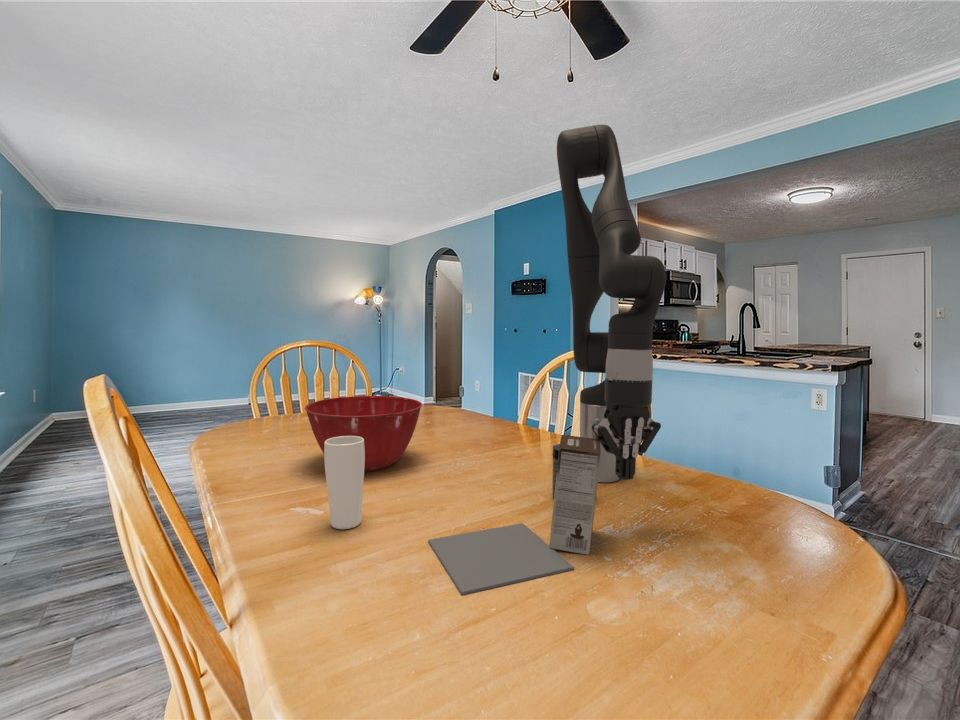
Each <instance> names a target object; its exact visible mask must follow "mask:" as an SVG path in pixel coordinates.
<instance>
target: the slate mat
mask: <svg viewBox="0 0 960 720" xmlns="http://www.w3.org/2000/svg"><path fill="white" fill-rule="evenodd" d="M427 541H428V544H429V546H430V547H431V549H432V551H433V552H434V554H435V555H436V557H437V558H438V560H439V562H440V563H441V565H442V567H443V568H444V570H445V572H446V573H447V574H448V577H449V578H450V579H451V580H452V582H453V584H454V586H455V587H456V590H458V592H459V594H460V595H461V596H466V595H468V594H473V593H477V592H478V593H479V592H482V591H487V590H491V589H494V588H500V587H504V586H508V585H513V584H517V583H521V582H526V581H530V580H535V579H538V578H545V577H547V576H552V575H556V574H560V573H565V572H570V571H574V570H575V566H574V565H573V564H571V563H570V562H569V561H568V560H567V559H566V558H564V557H563V556H562V555H561V554H560V553H559V552H557V551H556V549H552V548H550V544H548V543H547V542H546V541H544V540H543V538H541V537H539V535H537V533H535V532H534V531H532V530H531V528H529V527H528V526H527V525H526V524H525V523H523V522H521V523H516V524H510V525H504V526H498V527H494V528H487V529H482V530H476V531H475V530H474V531H470V532H465V533H458V534H453V535H452V534H451V535H447V536H441V537H436V538H431V539H428V540H427Z"/></svg>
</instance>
